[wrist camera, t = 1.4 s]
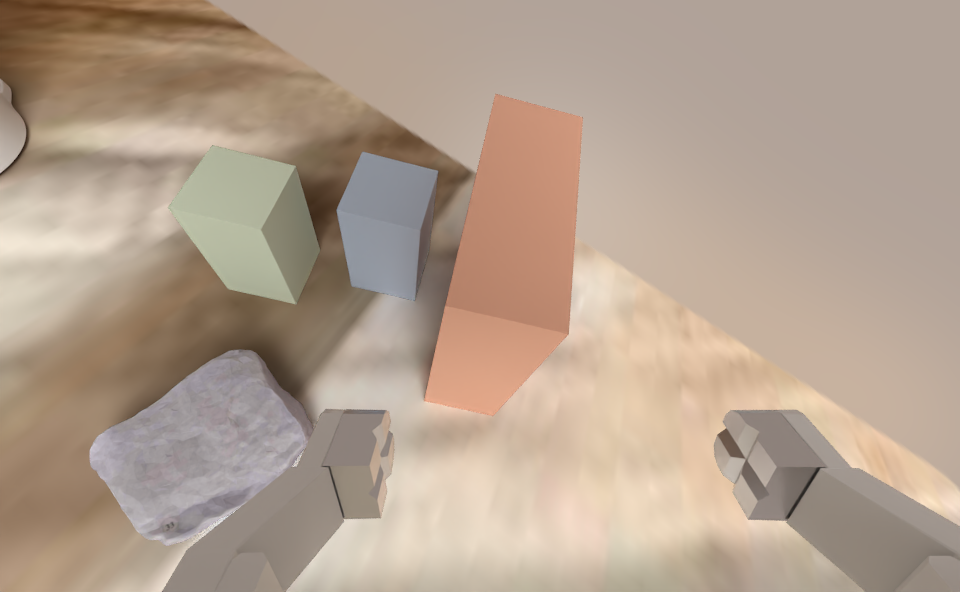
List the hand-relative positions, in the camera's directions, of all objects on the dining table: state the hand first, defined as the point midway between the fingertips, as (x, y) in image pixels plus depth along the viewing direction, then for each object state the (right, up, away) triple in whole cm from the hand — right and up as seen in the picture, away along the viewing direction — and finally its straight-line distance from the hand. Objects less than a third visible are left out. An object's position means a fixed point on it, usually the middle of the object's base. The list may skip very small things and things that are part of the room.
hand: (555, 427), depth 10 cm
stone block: (-21, -8, +21) cm, 31 cm away
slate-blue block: (-10, +6, +30) cm, 33 cm away
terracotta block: (-2, +1, +29) cm, 29 cm away
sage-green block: (-21, +6, +28) cm, 35 cm away
